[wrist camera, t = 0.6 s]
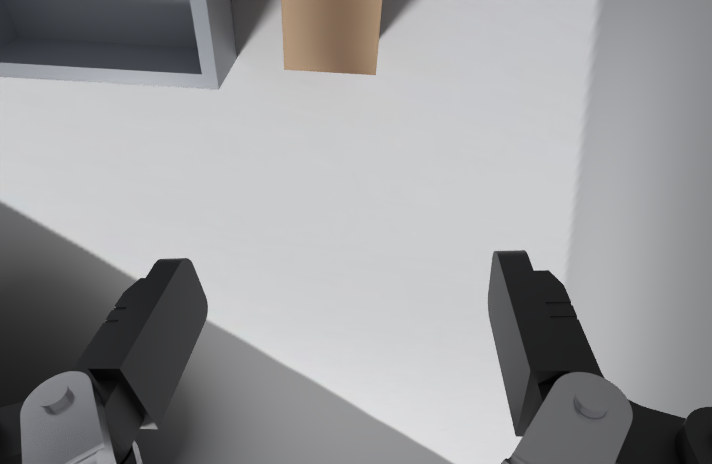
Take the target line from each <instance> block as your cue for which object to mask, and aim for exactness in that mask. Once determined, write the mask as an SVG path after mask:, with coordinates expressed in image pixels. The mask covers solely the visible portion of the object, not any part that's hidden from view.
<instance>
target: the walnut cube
mask: <svg viewBox="0 0 712 464" xmlns="http://www.w3.org/2000/svg"><path fill="white" fill-rule="evenodd" d="M281 3H282V26H283V50H284V70H300V71H317V72H333V73H350V74H367V75H376V65H377V54H378V43H379V31H380V20H381V8H382V0H281Z"/></svg>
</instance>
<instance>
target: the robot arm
mask: <svg viewBox="0 0 712 464" xmlns="http://www.w3.org/2000/svg"><path fill="white" fill-rule="evenodd" d="M207 311H208V305H207V299H206V296H205V294H204V291H203V289H202V286H201V283H200V281H199V278H198V276H197V273H196V271H195V268H194V266H193V264H192V262H191V261H190V260H189V259H187V258H180V259H159V260H158V261H157V262H156V263H155V264H154V266H153V267H152V269H151V271H150V272H149V274H148V275H147V277H146V278H140V279H139V280H138V281H137V282H135V283H134V284H133V285H132V286H131V287H130V288H128V289H127V290H126V291H125V292H124V293H123V294H122V296H121V298H120V299H119V300H118V302H117V303H116V305H115V307H114V310H112V311H111V312H110V314H109V315H108V317H107V318H106V322H105V323H103V324H102V326H101V327H100V329H99V330H98V332H97V333H96V335H95V336H94V338H93V339H92V341H91V342H90V344H89V345H88V347H87V348H86V350H85V351H84V352H83V354H82V356H81V357H80V358H79V360H78V361H77V363H76V365H75V366H74V367H73V369H72V370H71V371H70V372H65V373H62V374H59V375H56V376H54V377H52V378H50V379H48V380H47V381H45V382H44V383H42V384H41V385H40V386H38V387H37V388H36V389H35V390H34V391H33V392H32V393H31V394H30V395H29V396H28V398H27V399H26V400H25V401H24V402H20V403H17V404H13V405H10V406H6V407H3V408H0V464H142V461H141V457H140V453H139V450H138V446H137V444H136V443H135V441H134V440H135V438H136V435H137V433H138V431H139V429H158V428H159V426H160V424H161V421H162V419H163V417H164V415H165V412H166V410H167V407H168V405H169V403H170V401H171V398H172V396H173V394H174V392H175V389H176V387H177V385H178V382H179V380H180V378H181V376H182V373H183V371H184V369H185V366H186V364H187V362H188V360H189V358H190V355H191V353H192V350H193V348H194V346H195V344H196V341H197V339H198V337H199V334H200V332H201V330H202V328H203V325H204V323H205V321H206V318H207ZM488 311H489V318H490V323H491V327H492V332H493V336H494V341H495V345H496V350H497V354H498V359H499V363H500V368H501V372H502V377H503V381H504V386H505V390H506V395H507V399H508V404H509V408H510V413H511V417H512V421H513V426H514V430H515V435H516V436H523V437H522V439H521V441H520V443H519V444H518V446H517V448H516V449H515V451H514V453H513V454H512V456H511V457H510V458H509V459H507V458H506V459H505V460H504V461H503V462H502V463H501V464H712V407H704V408H699V409H697V410H694V411H693V412H692V413H690V415H689V416H688V417H687V419H685V418H681V417H678V416H674V415H671V414H667V413H663V412H660V411H656V410H653V409H649V408H646V407H643V406H640V405H638V404H636V403H634V402H632V401H630V400H628V399H627V398H626V396H625V395H624V394H623V392H622V391H621V390H620V389H619V388H618V387H617V386H615V385H614V384H613V383H611V382H610V381H608V380H606V379H605V378H604V377H603V375H602V373H601V371H600V368H599V366H598V364H597V362H596V359H595V357H594V354H593V352H592V350H591V347H590V345H589V343H588V341H587V338H586V336H585V334H584V331H583V329H582V327H581V324H580V322H579V320H577V315H576V313H575V310H574V308H573V306H572V305H571V301H570V299H569V296H568V294H567V292H566V289H565V287H564V285H563V284H562V283H561V282H560V281H559V280H558V279H557V278H556V277H555V276H554V275H553V274H552V273H551V272H550V271H549V270H547V271H533V268H532V265H531V262H530V260H529V257H528V254H527V252H526V251H524V250H521V251H494V253H493V258H492V266H491V275H490V283H489V292H488Z"/></svg>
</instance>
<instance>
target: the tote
mask: <svg viewBox="0 0 712 464" xmlns="http://www.w3.org/2000/svg"><path fill="white" fill-rule="evenodd" d="M236 59H237V54H236V44H235V35H234V26H233V17H232V8H231V0H0V77H13V78H30V79H48V80H65V81H82V82H99V83H116V84H133V85H151V86H168V87H185V88H202V89H219V88H220V86H221V85H222V83H223V81H224V79H225V78H226V76H227V74H228V72H229V71H230V69H231V67H232V66H233V64H234V62H235V60H236Z"/></svg>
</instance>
